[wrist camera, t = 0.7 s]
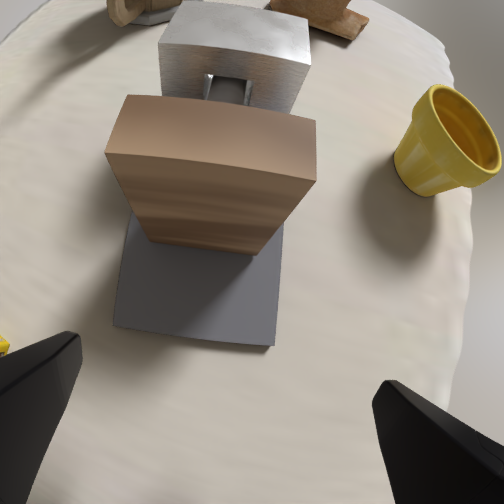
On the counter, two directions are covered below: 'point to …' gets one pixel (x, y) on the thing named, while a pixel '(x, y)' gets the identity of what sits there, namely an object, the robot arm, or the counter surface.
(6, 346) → the candy box
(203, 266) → the mat
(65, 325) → the counter surface
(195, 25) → the bearing block
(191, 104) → the wood block
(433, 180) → the plant pot
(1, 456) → the robot arm
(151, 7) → the tankard
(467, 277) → the counter surface
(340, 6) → the stone cup
